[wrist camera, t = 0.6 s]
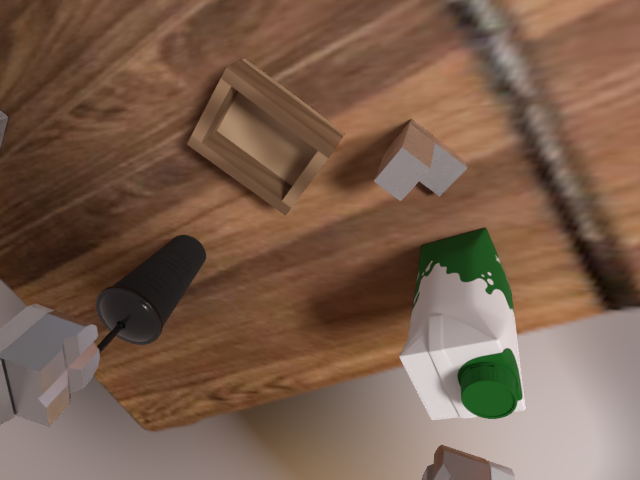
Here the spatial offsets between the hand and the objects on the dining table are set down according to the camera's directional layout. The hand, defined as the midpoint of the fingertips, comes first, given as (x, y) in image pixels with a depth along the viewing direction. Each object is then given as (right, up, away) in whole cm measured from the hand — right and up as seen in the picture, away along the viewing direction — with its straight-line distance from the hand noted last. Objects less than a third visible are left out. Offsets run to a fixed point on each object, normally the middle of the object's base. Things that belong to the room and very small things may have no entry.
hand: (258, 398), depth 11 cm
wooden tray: (-4, +15, +40) cm, 43 cm away
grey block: (+12, +12, +37) cm, 41 cm away
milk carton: (+17, +1, +43) cm, 46 cm away
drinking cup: (-16, +2, +52) cm, 54 cm away
